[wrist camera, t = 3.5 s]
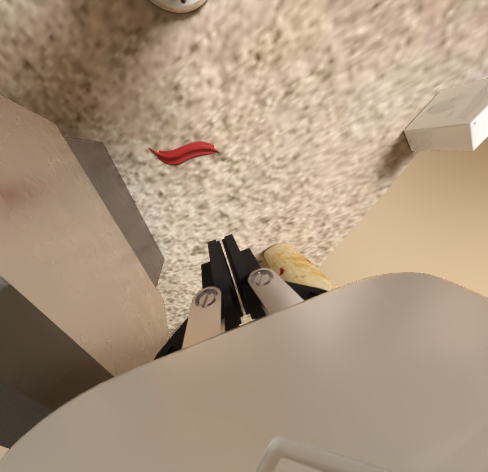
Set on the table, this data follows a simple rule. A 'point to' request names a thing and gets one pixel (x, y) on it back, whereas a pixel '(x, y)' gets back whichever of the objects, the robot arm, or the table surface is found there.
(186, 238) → the table surface
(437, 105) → the skincare box
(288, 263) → the food model
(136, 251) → the grey lidded box
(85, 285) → the lid
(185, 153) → the cayenne pepper
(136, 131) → the table surface
